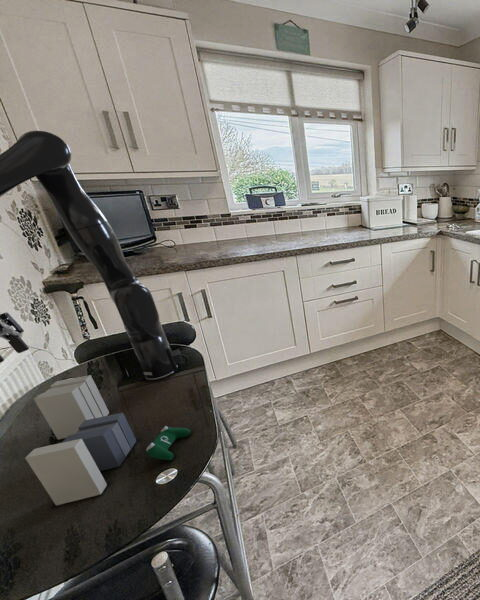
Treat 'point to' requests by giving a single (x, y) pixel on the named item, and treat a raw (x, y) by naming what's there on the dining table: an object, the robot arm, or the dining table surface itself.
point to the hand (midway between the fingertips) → (11, 356)
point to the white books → (71, 405)
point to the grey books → (106, 439)
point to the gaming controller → (165, 442)
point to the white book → (67, 471)
